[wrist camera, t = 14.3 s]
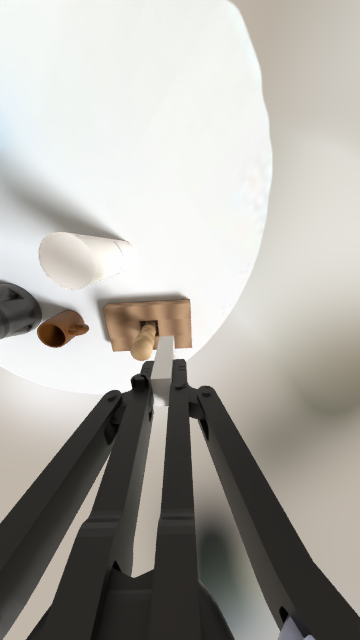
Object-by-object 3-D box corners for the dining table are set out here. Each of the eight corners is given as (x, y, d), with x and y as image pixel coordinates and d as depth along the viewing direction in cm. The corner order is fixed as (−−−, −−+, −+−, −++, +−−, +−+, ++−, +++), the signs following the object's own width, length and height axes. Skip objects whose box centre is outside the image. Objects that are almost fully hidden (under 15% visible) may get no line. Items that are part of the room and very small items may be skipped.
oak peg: (145, 330, 54) (132, 361, 39) (143, 317, 52) (128, 343, 38) (159, 329, 54) (152, 360, 39) (158, 316, 52) (149, 342, 37)
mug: (95, 307, 51) (78, 320, 43) (101, 330, 54) (87, 346, 45) (56, 310, 51) (31, 323, 43) (64, 333, 54) (42, 349, 46)
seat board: (117, 344, 56) (113, 351, 52) (108, 303, 51) (102, 308, 47) (190, 341, 56) (191, 347, 52) (189, 299, 50) (190, 303, 47)
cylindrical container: (124, 274, 47) (72, 299, 24) (104, 253, 45) (27, 258, 22) (143, 257, 46) (106, 266, 23) (123, 234, 44) (60, 218, 21)
